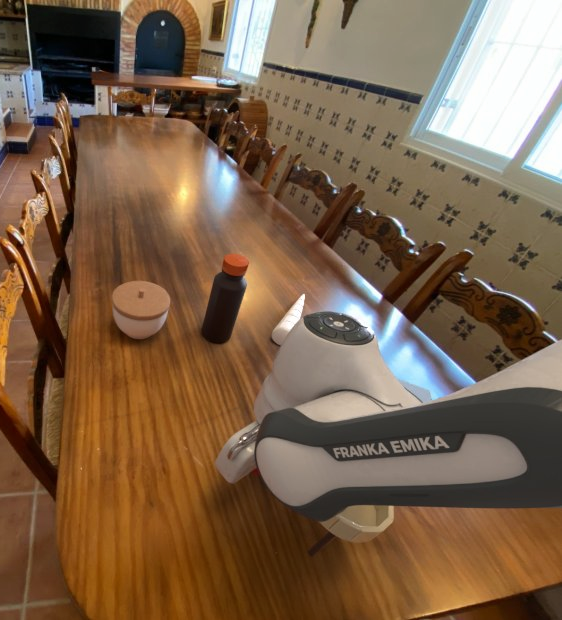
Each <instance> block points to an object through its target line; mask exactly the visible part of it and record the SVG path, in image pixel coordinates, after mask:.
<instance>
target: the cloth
mask: <svg viewBox="0 0 562 620" xmlns="http://www.w3.org/2000/svg"><path fill="white" fill-rule="evenodd" d="M397 379H398V381H399V382H400V383H401V384H402V386H404V387H405V388H406V389H408V390H409V391H410V392H412V393H413V394H414V395H415V396H417V397H418V398H419V399H420V400H421V401H422V402H423V403H425V402H428V401H431V400H432V393H431V390H429V389H427V388H424V387H421V386H418V385H416V384H413V383H410V382H408V381H405V380H402V379H401V378H397Z"/></svg>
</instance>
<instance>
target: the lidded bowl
mask: <svg viewBox="0 0 562 620" xmlns="http://www.w3.org/2000/svg"><path fill="white" fill-rule="evenodd" d="M111 304H112V305H111V307H112V316H113V319H114V322H115V324H116V326H117V327H118V329H119V330H120V331H121V332H122V333H123V334H125V335H126V336H128V337H129V338H131V339H135V340H145V339H147V338H149V337H151V336H153V335H155V334H156V333H158V332H159V331H160V330H161V329H162V327H163V326H164V324H165V322H166V320H167V317H168V313H169V309H170V306H171V297H170V294H169V293H168V291H167V290H166V289H165V288H163V286H160V285H158V284H156V283H153V282H151V281H146V280H132V281H127V282H124V283H121V284H120V285H118V286H117V287H116V288H115V289H114V290H113V292H112V294H111Z"/></svg>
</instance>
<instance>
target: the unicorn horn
mask: <svg viewBox="0 0 562 620" xmlns="http://www.w3.org/2000/svg"><path fill="white" fill-rule="evenodd" d="M305 299H306V295H305V293H303V294H301V295H300V296H299V298H297V300H296V301H295V302H294V303H293V305H292V306H291V307H290V309H288V311H287V312H286V313H285V315H283V318H281V320H280V321H279V322H278V323H277V324H276V326H275V327H274V329H273V330H272V333H271V339H272V341H273V342H274V343H275V344H277V345H278V346H281V345H282V343H283V341H284V339H285V337H286V336H287V334H288V333H289V331H290V330H291V328H292V327H293V326H294V325H295V324H296V323H297V321H298V320H300V319H301V318H302V313H303V310H304V309H303V308H304V304H305Z"/></svg>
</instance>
